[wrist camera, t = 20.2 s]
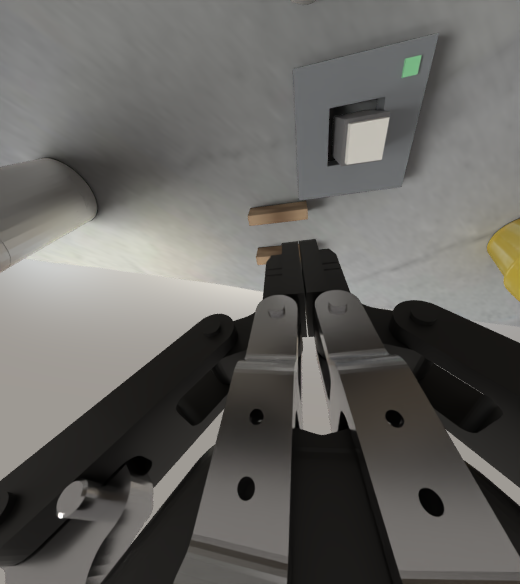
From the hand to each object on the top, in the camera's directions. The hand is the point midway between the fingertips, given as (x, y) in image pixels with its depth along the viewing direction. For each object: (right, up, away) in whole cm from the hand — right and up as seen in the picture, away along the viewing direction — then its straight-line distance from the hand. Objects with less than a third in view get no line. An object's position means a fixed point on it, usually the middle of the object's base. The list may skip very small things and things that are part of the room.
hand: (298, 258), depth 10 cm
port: (+8, +17, +14) cm, 24 cm away
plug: (+8, +17, +15) cm, 24 cm away
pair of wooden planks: (+1, +8, +23) cm, 25 cm away
